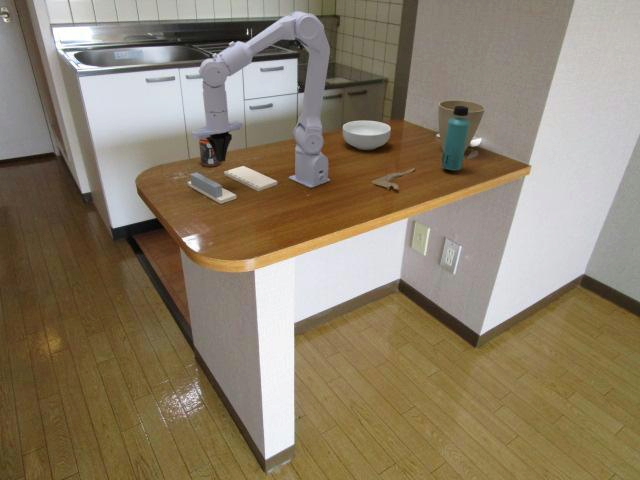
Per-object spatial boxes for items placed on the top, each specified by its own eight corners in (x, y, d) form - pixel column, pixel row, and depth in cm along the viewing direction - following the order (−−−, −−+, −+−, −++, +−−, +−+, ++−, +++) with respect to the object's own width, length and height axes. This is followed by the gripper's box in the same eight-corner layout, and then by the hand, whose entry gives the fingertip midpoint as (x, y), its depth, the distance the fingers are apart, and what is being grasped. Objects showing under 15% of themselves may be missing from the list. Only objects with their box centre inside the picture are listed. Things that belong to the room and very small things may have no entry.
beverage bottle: (464, 171, 143) (477, 106, 133) (454, 176, 139) (466, 110, 129) (446, 165, 147) (457, 102, 137) (435, 171, 142) (446, 106, 132)
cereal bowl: (344, 137, 169) (345, 118, 166) (389, 140, 168) (391, 121, 164) (339, 152, 155) (340, 132, 151) (388, 156, 153) (390, 135, 150)
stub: (236, 198, 121) (235, 184, 119) (220, 203, 118) (219, 189, 116) (203, 180, 131) (201, 167, 129) (187, 185, 128) (186, 172, 126)
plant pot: (423, 151, 158) (430, 105, 150) (444, 142, 168) (452, 98, 160) (463, 162, 150) (472, 114, 142) (482, 152, 159) (492, 106, 151)
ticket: (277, 184, 130) (277, 180, 130) (258, 191, 126) (258, 187, 125) (243, 168, 140) (243, 165, 139) (224, 174, 136) (224, 171, 135)
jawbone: (366, 190, 131) (366, 184, 130) (388, 168, 147) (388, 162, 146) (397, 194, 127) (397, 187, 126) (415, 171, 143) (416, 165, 142)
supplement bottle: (216, 168, 140) (212, 132, 134) (198, 166, 141) (194, 130, 135) (223, 161, 145) (220, 126, 139) (206, 159, 146) (202, 124, 140)
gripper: (230, 102, 123) (234, 150, 130) (182, 111, 114) (189, 163, 121) (246, 107, 119) (249, 157, 126) (198, 117, 110) (204, 170, 117)
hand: (221, 160), depth 123 cm, fingers closed
